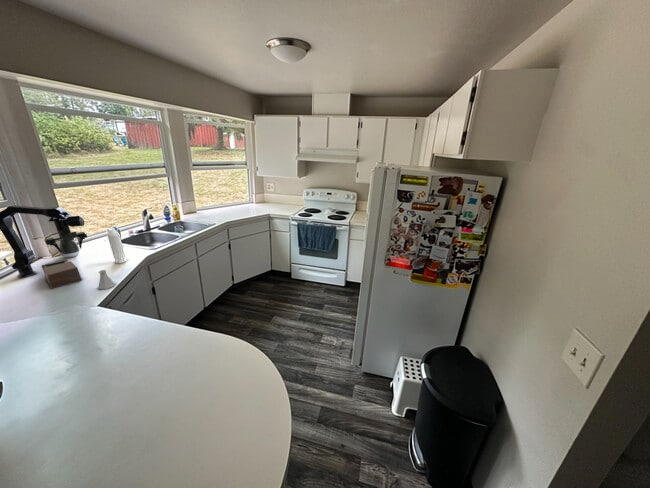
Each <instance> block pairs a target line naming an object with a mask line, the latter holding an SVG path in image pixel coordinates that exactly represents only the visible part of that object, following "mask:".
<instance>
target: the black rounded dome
mask: <svg viewBox="0 0 650 488" xmlns="http://www.w3.org/2000/svg"><path fill="white" fill-rule="evenodd" d="M58 246H59V248H60V250H61V252H62V253H61V252H60V251H59V253H60V255H61V256H62V257H64V258H74V257H77V256H78V255H79V254H80V250H81V249H80V247H79V244H77V243H76V241H75V239H74V240H72V241H67V242H64V241H63V240H61V241H59V244H58Z"/></svg>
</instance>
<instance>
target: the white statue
mask: <svg viewBox="0 0 650 488" xmlns="http://www.w3.org/2000/svg"><path fill="white" fill-rule="evenodd" d="M107 231H108V233H107V235H106V236H107V239H108V243H109V247H110V250H111V253H112V256H113V259H114V260H113V261H114V263H115V264H121V263H125V262H127V257H126V252H125V250H124V245H123V244H122V243H123V242H122V238H121V235H120V233H119V231H117V230H116V229H115V228H114V227H109V229H108V230H107Z"/></svg>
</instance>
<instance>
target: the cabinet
mask: <svg viewBox="0 0 650 488" xmlns="http://www.w3.org/2000/svg"><path fill="white" fill-rule="evenodd" d="M41 269H42V272H43V274H44V277H45V279H46V281H47V283H48V284H49V286H50V287H51V289H55V288H56V289H57V288H60V287H62V286H66V285H70V284H74V283H77V282H81V281H82V280H83V279H82V277H81V274H80V271H79V268H78V266H77V265H76V264H74V263H73V261H71V260H70V261H68V262H66V263H61V264H57V265H53V266H49V267H44V268H42V267H41Z"/></svg>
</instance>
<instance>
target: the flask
mask: <svg viewBox="0 0 650 488" xmlns="http://www.w3.org/2000/svg"><path fill="white" fill-rule="evenodd" d="M98 274H99V282H98V286H97V288H98V289H100V290H108V289H110V288H112V287H114V286H115V285H116V283H115V282H114V281H113V280H112V279H111V278H110V277H109V276H108V274H107V270H106V269H102V270H99V271H98Z"/></svg>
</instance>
